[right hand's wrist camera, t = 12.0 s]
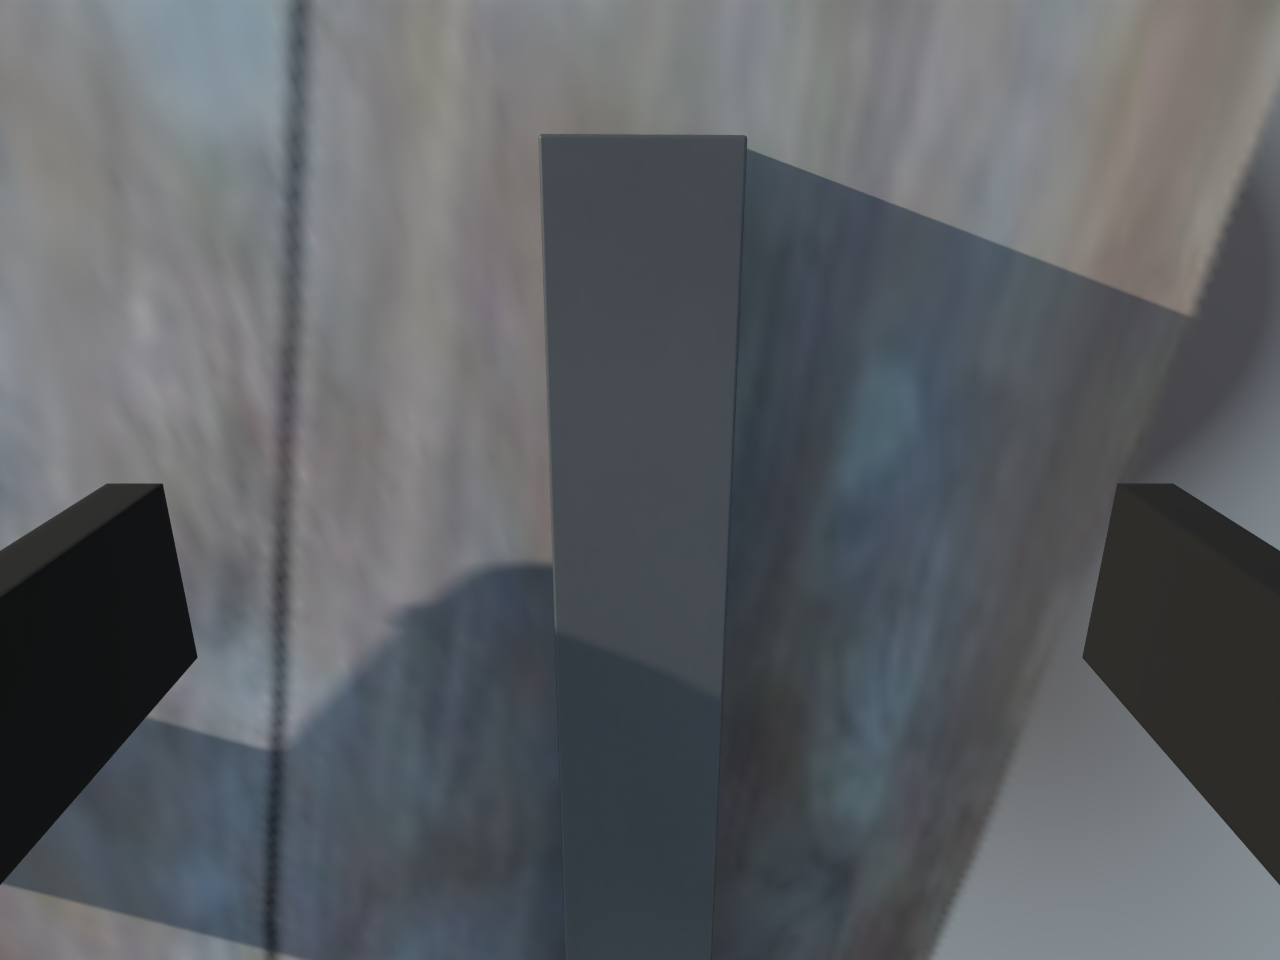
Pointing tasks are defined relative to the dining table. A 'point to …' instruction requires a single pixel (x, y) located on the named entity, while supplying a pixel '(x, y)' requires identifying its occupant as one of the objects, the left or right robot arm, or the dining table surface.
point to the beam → (640, 522)
